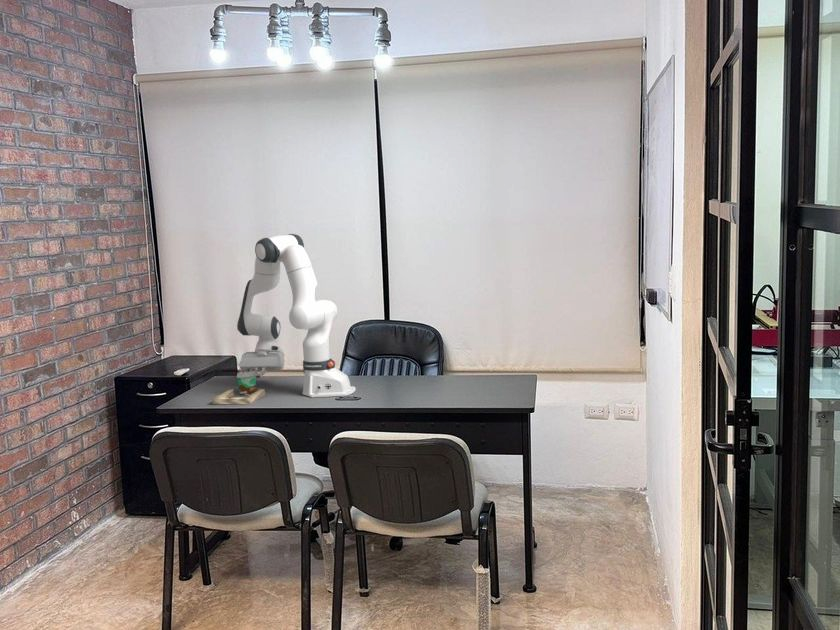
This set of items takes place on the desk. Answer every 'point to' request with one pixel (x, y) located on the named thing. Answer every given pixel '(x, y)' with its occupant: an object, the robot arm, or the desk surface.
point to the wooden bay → (225, 398)
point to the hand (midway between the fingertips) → (258, 377)
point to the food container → (247, 381)
